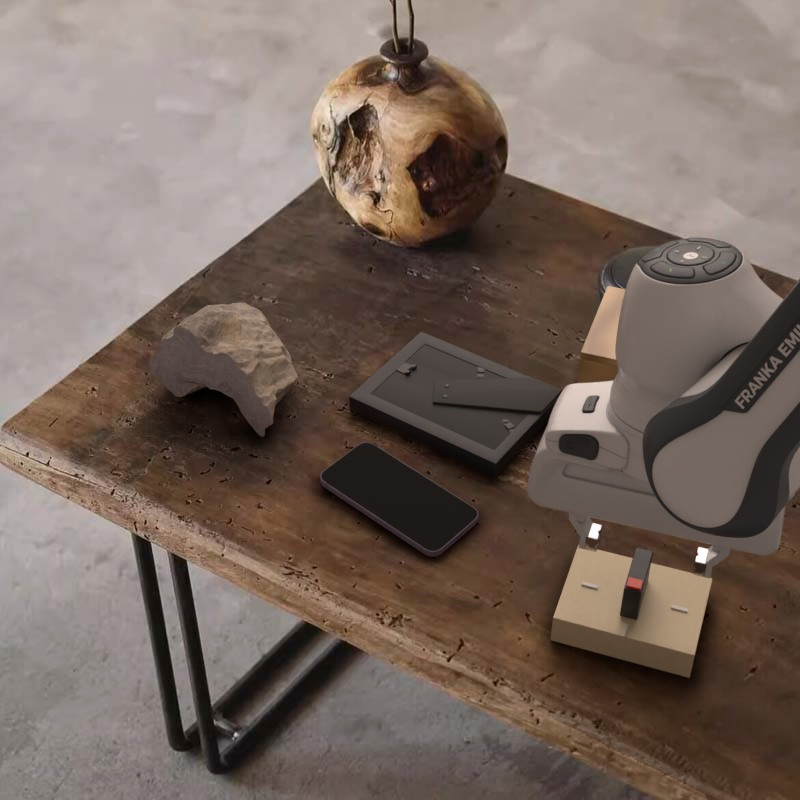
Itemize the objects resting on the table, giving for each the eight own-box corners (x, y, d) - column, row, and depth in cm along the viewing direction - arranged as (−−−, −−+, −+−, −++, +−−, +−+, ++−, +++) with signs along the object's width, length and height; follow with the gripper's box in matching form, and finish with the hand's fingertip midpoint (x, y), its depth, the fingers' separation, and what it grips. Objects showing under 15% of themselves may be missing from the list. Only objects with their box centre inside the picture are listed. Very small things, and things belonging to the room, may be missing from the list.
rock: (148, 393, 139) (137, 313, 133) (234, 338, 148) (226, 261, 142) (259, 450, 132) (253, 369, 126) (343, 389, 140) (340, 310, 134)
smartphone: (433, 555, 120) (315, 476, 127) (433, 564, 121) (315, 484, 128) (483, 512, 124) (366, 438, 131) (482, 520, 125) (365, 446, 132)
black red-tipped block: (631, 574, 115) (636, 544, 113) (648, 578, 115) (653, 549, 112) (619, 616, 112) (624, 586, 109) (636, 620, 111) (642, 591, 109)
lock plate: (707, 600, 117) (713, 576, 115) (689, 679, 110) (694, 655, 108) (575, 566, 120) (578, 542, 118) (549, 641, 113) (552, 617, 111)
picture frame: (562, 405, 137) (421, 345, 145) (564, 388, 136) (421, 328, 143) (495, 478, 129) (348, 410, 136) (496, 461, 127) (348, 393, 135)
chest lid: (748, 320, 133) (756, 282, 130) (730, 390, 125) (738, 352, 122) (606, 291, 137) (611, 255, 134) (579, 358, 129) (584, 320, 126)
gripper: (808, 433, 100) (778, 560, 109) (546, 381, 105) (536, 506, 114) (799, 487, 95) (768, 615, 104) (525, 429, 101) (517, 556, 109)
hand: (645, 558), depth 109 cm, fingers open, 8 cm apart
